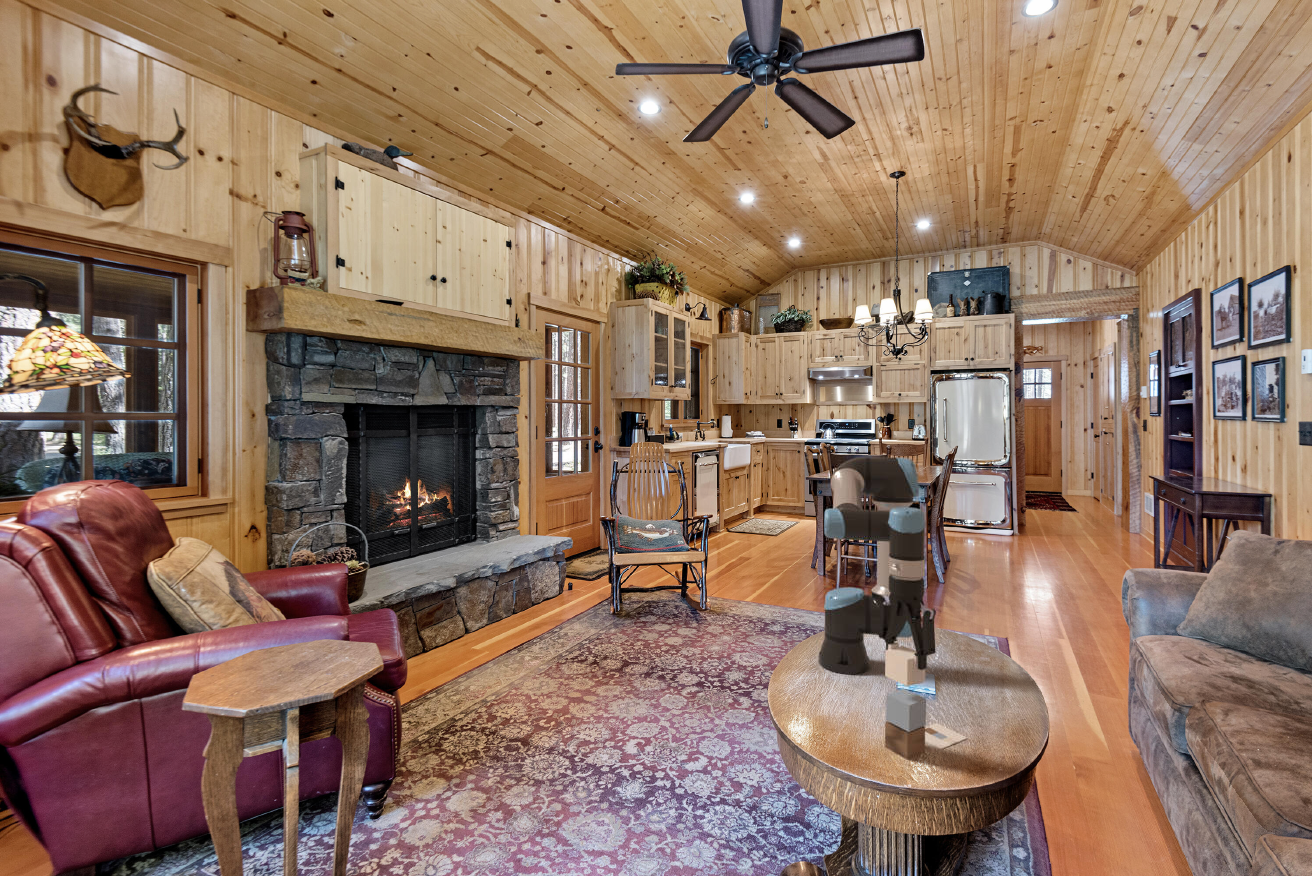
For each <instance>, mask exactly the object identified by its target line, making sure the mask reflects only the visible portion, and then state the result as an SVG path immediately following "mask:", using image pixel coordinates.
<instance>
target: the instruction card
mask: <svg viewBox="0 0 1312 876" xmlns="http://www.w3.org/2000/svg"><path fill="white" fill-rule="evenodd" d="M924 727H925V744H926V743H927V744H929V745H931V747H934V748H936V749H938V750H939V751H941V750H943V749H946V748H948V747H951V746H952V745H955V744H958V743H959V742H962V741H965V740H967V739H968V737H967V736H964V735H962V734H961V733H958V732H956V731H954V730H952V729H950V728H948V727H946V726H944V725H942V724H940V723H938V722H936V723H933V724H931V725H928V726H924Z"/></svg>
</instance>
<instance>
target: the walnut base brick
mask: <svg viewBox="0 0 1312 876" xmlns="http://www.w3.org/2000/svg"><path fill="white" fill-rule="evenodd" d="M884 724H885V725H884V727H885V729H884V731H885V732H884V736H885V738H884V748H886V749H887V750H889V751H891V752H893V753H894V754H897V755H898V756H900V757H902V758H903V759H905V760H910V759H913V758H916V757H917V756H920V755H923V754H925V753H926V742H925V727H926V726H925V725H924V726H922V727H920V728H917V729H915V730H913V731H910V732H908V731H906V730H904V729H902V728H900V727H898V726H896V725H894V724H892V723H890V722H889V721H887V720H885V723H884Z"/></svg>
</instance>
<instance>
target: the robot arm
mask: <svg viewBox="0 0 1312 876" xmlns="http://www.w3.org/2000/svg"><path fill="white" fill-rule="evenodd" d="M830 487H831V490H832V492H833V502H832V503H833V504H832V508H826V509H825V511H824V525H823V526H824V529H823V530H824V535H825V537H827V538H829V539H837V540H848V541H851V540H852V541H869V542H870V541H871V542H876V546H877V547H876V548H877V549H876V584H875V586H873V587H872V588H871V594H866V593H865V591H864V590H863V589H862V588H857V587H852V586H851V587H849V586H848V587H837V588H833V589H831V590H829V591H828V592H827V593H826V594H825V596H824V597H825V598H824V605H823V608H824V638H823V642H822V644H821V648H820V651H819V653H818V663H819V665H820V666H821V667H822V668H824V669H826V670H828V671H831V672H834V673H839V674H844V675H845V674H846V675H858V674H863V673H866V672H868V671H869V670H870V668H871V667H870V663H871V662H870V658H869V656H868V653H867V649H866V646H865V642H864V641H865V640H864V638H865V637H864V636H865V635H872V636H878V637H879V639H882V640H883V641H884V642H885V651H886V650H889V649H894V648H898V647H900V646H899V645H900V644H899V643H898V642H897V641H898V640H899V639H897V638H905V639H906V638H909V639H910V637H912V640H913V644H914V648H915V651H916V653H914V654H913V683H914V685H919V684H921V683H924V682H925V681H924V669H925V670H927V668H928V663H927V660H928V659H927V658H928V657H927V656H930V655H934V654H936V636H935V634H936V633H935V617H936V614H937V612H936V609H934V608H928V607H927V606H925V602H924V600H923V598H924V595H925V579H924V578H923V577H925V575H926V574H925V573H926V571H925V570H926V569H925V567H926V564H925V563H926V562H925V542H926V541H925V540H926V538H925V537H926V536H925V535H926V526H927V525H926V521H925V520H926V519H925V517H926V515H925V512H924V511H923V510H922V509H920V508H917V507H910V506H912V505H913V504H914V498H917V497H919V494H920V490H919V488H920V487H919V479H918V473H917V468H916V465H915V462H914V461H913V460H912V459H910V458H905V457H898V456H896V457H876V456H875V457H871V456H870V457H866V456H860V457H855V458H851V459H849V460H846V461H845V462H843V463H841V464H840V465H839V466H838V467H836V469H835V470H834V471H833V473H832V475H831V477H830ZM862 496H871V501H872V503H873V504H874V505H876V508H877V509H876V510H874V509H873V510H870V509H863V500H862V499H863V497H862Z"/></svg>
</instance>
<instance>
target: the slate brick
mask: <svg viewBox="0 0 1312 876" xmlns="http://www.w3.org/2000/svg"><path fill="white" fill-rule="evenodd" d="M885 721H889V722H890V723H892V724H894V725H896V726H898V727H900V728H902V729H904V730H906V731H908V732H910V731H913V730H915V729H917V728H920V727H922V726H924V727H925V726H926V725H927V724H926V723H927V722H926V721H927V698H925V697H924V696H923V697H922V696H921V695H918V694H917V693H914V692H912V691H909V690H907V689H906V688H902V689H901V688H900V689H897V690H896V691H893V692H890V693H886V705H885Z"/></svg>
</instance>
